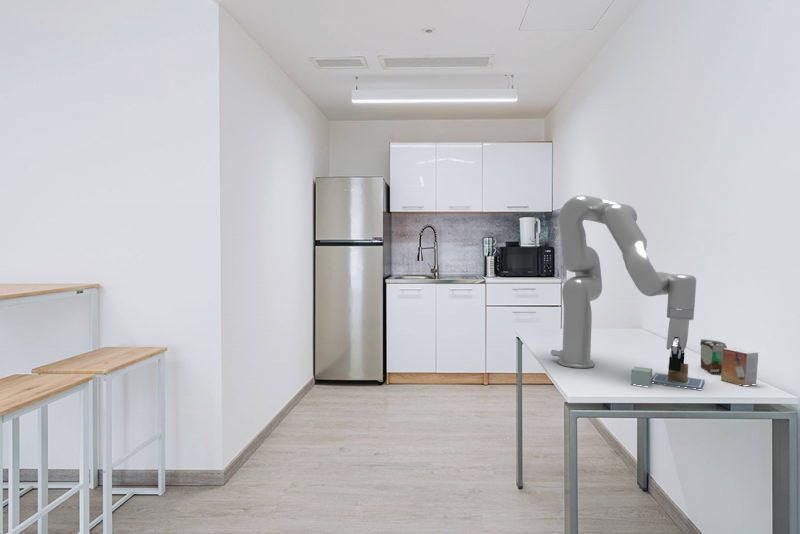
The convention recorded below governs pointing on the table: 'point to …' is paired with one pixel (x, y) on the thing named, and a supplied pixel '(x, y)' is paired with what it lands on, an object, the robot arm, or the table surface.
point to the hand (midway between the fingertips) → (676, 367)
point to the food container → (712, 356)
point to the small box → (739, 366)
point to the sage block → (641, 376)
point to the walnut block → (679, 374)
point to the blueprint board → (689, 384)
